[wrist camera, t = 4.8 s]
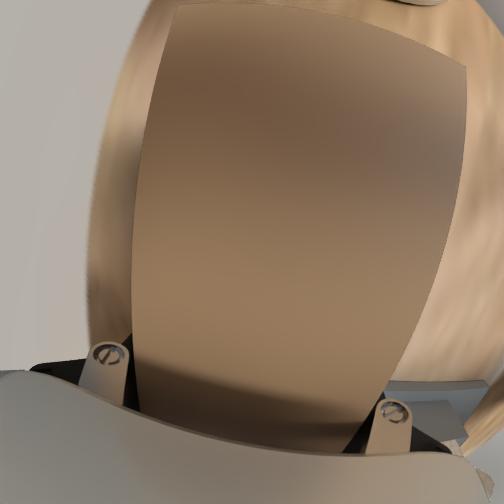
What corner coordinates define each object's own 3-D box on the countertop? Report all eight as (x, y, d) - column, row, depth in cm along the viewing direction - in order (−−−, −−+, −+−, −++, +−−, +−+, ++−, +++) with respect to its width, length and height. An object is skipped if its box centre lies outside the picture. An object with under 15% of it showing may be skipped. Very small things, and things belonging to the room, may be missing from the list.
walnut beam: (233, 83, 9) (178, 5, 4) (382, 114, 9) (465, 66, 3) (189, 436, 15) (161, 506, 9) (277, 454, 15) (269, 529, 9)
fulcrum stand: (325, 374, 17) (339, 473, 9) (483, 380, 16) (524, 435, 8) (276, 474, 20) (269, 540, 12) (412, 471, 19) (426, 523, 11)
